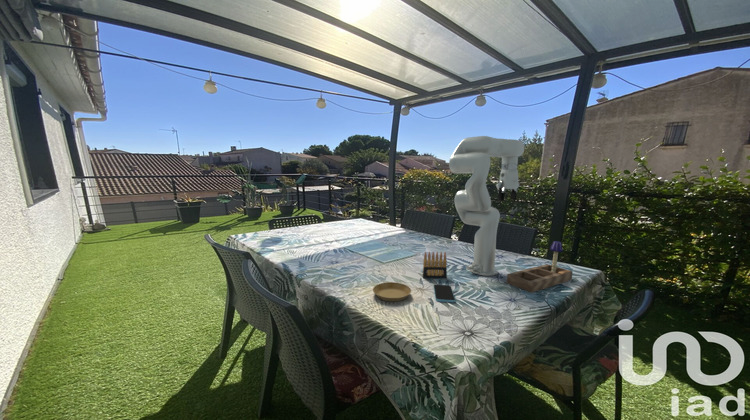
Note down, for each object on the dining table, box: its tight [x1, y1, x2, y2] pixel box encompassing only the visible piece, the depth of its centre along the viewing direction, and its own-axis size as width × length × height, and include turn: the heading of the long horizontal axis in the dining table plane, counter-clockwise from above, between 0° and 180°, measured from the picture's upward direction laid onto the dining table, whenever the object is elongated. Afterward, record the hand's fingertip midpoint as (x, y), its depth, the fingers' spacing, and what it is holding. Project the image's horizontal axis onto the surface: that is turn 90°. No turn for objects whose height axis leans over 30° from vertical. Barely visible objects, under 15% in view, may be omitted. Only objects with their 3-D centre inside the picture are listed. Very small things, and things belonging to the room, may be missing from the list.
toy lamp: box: [550, 240, 563, 273], centre depth 123 cm, size 5×5×17 cm
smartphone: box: [432, 284, 456, 303], centre depth 106 cm, size 7×1×15 cm
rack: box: [506, 263, 573, 293], centre depth 119 cm, size 29×11×4 cm, turn 118°
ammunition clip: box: [422, 251, 448, 279], centre depth 123 cm, size 11×2×12 cm, turn 88°
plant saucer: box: [372, 281, 412, 303], centre depth 105 cm, size 15×15×3 cm
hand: (507, 199), depth 145 cm, fingers open, 9 cm apart
